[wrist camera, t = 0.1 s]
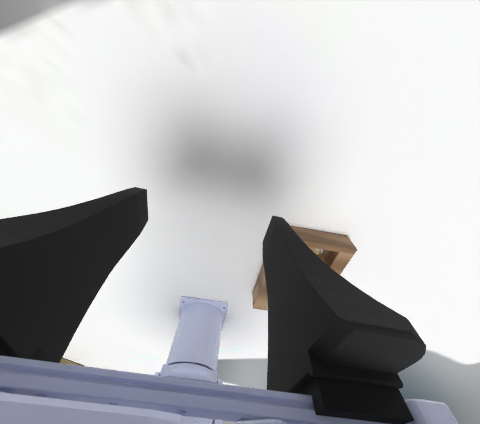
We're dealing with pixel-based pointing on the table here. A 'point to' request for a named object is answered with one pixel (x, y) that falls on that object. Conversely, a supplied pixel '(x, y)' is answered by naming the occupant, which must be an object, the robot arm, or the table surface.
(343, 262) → the pocket board
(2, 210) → the table surface
